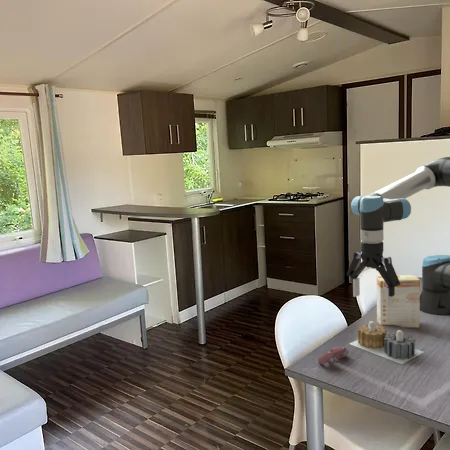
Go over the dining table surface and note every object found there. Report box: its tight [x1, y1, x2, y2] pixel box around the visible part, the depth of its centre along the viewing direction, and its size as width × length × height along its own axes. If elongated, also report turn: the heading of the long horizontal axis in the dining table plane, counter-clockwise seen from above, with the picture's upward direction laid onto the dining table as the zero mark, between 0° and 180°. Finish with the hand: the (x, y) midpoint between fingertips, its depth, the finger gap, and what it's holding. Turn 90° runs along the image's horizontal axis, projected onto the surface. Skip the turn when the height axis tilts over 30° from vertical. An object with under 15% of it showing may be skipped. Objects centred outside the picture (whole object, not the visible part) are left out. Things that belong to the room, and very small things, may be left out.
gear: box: [384, 332, 416, 360], centre depth 154 cm, size 10×10×5 cm
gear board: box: [349, 320, 424, 365], centre depth 158 cm, size 13×21×10 cm, turn 36°
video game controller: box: [317, 345, 349, 365], centre depth 153 cm, size 10×5×7 cm, turn 119°
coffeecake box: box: [376, 274, 421, 329], centre depth 180 cm, size 15×7×20 cm, turn 84°
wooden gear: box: [357, 323, 388, 349], centre depth 163 cm, size 10×10×5 cm
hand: (372, 300), depth 160 cm, fingers open, 13 cm apart
